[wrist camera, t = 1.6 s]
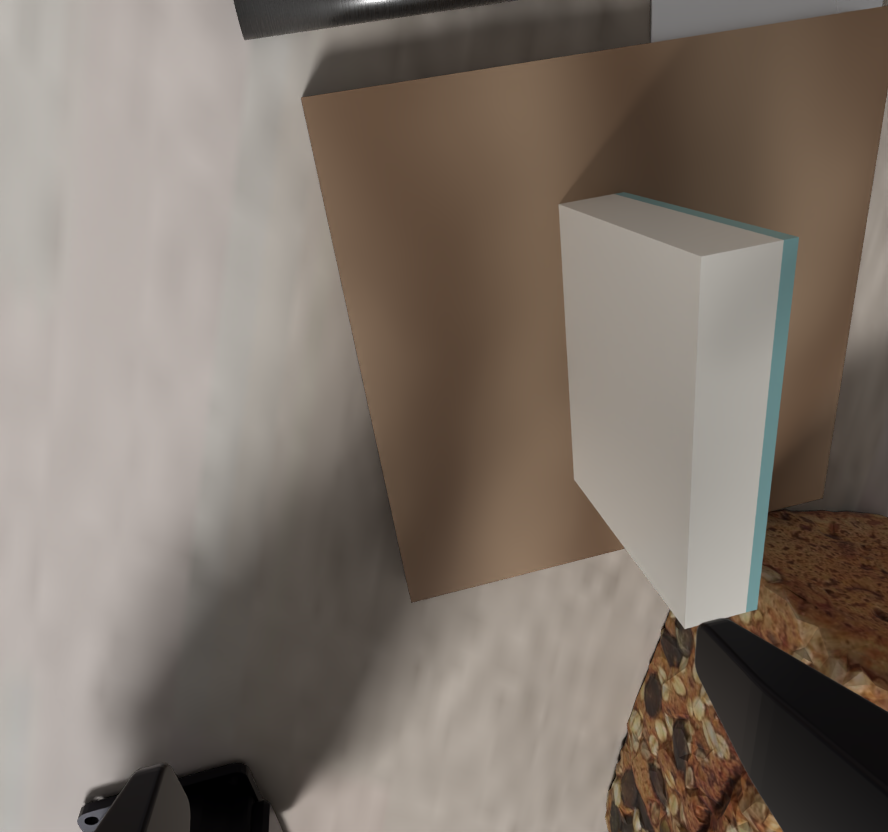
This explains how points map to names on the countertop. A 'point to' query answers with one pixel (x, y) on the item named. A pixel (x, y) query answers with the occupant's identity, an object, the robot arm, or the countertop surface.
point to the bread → (783, 625)
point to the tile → (677, 388)
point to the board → (540, 262)
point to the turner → (671, 3)
